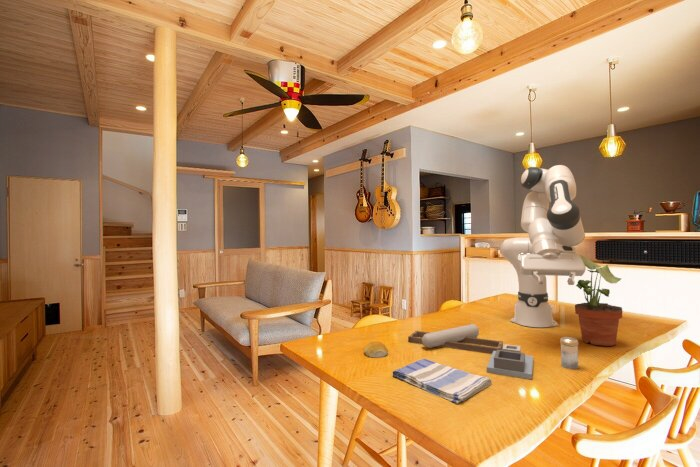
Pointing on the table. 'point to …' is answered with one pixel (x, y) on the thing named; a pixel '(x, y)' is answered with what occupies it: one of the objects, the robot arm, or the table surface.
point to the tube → (449, 335)
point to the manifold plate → (511, 362)
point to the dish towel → (442, 380)
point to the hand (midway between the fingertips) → (556, 283)
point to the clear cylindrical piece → (569, 352)
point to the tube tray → (485, 349)
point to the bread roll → (376, 350)
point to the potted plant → (598, 309)
